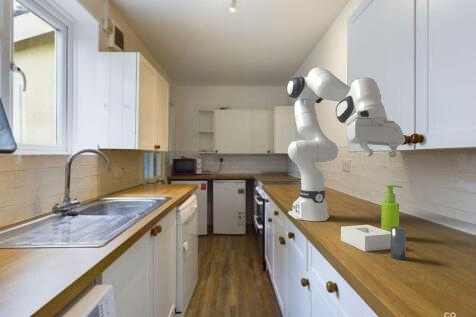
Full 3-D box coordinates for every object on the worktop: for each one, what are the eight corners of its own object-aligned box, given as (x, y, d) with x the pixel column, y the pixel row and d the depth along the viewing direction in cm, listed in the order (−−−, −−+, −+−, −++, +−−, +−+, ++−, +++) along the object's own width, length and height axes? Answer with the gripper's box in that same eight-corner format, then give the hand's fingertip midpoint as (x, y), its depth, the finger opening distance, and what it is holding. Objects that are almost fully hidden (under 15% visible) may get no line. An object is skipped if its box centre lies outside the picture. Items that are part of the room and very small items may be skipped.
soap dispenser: (404, 240, 98) (405, 186, 98) (384, 239, 99) (384, 185, 99) (398, 235, 104) (398, 184, 104) (379, 234, 105) (379, 184, 105)
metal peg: (387, 255, 83) (387, 226, 83) (397, 254, 84) (397, 226, 84) (398, 260, 79) (398, 230, 79) (408, 259, 80) (409, 229, 80)
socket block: (340, 240, 98) (341, 226, 98) (368, 237, 101) (368, 224, 101) (364, 251, 86) (364, 236, 86) (394, 248, 90) (394, 233, 90)
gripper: (389, 125, 98) (399, 160, 93) (341, 120, 93) (349, 158, 88) (403, 117, 92) (415, 154, 87) (353, 111, 87) (362, 150, 82)
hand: (381, 156), depth 87 cm, fingers open, 8 cm apart
